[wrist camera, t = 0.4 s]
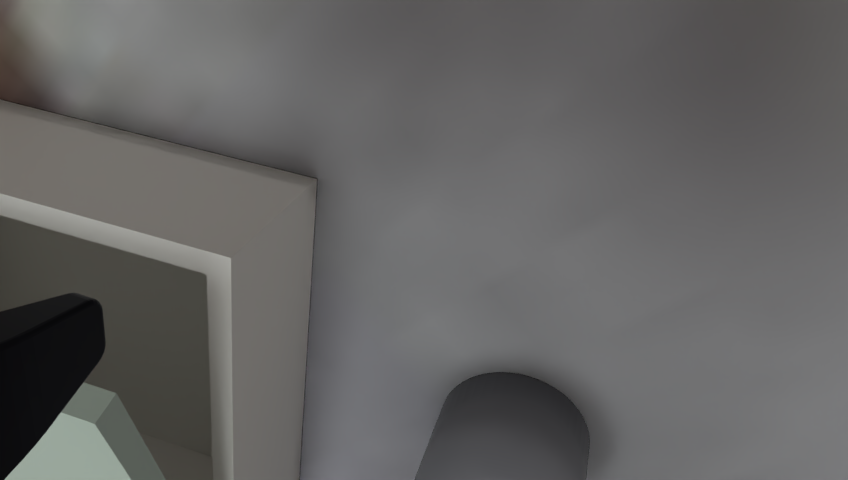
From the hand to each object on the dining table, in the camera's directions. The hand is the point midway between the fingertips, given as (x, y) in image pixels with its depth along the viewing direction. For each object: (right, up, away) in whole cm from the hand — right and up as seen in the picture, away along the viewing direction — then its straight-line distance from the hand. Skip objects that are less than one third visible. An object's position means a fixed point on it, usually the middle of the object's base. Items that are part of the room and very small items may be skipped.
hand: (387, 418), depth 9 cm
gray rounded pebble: (+4, -5, +18) cm, 19 cm away
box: (-12, 0, +20) cm, 24 cm away
